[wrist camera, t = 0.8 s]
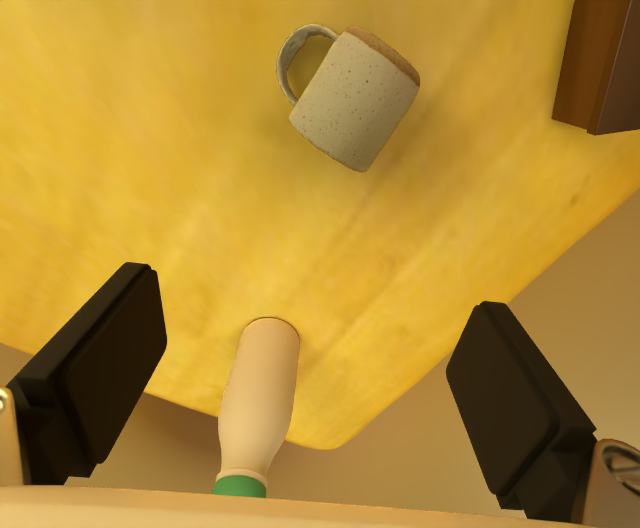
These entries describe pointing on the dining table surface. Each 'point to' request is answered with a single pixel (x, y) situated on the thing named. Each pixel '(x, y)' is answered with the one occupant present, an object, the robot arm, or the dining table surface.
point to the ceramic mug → (349, 94)
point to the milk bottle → (256, 406)
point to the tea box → (601, 68)
